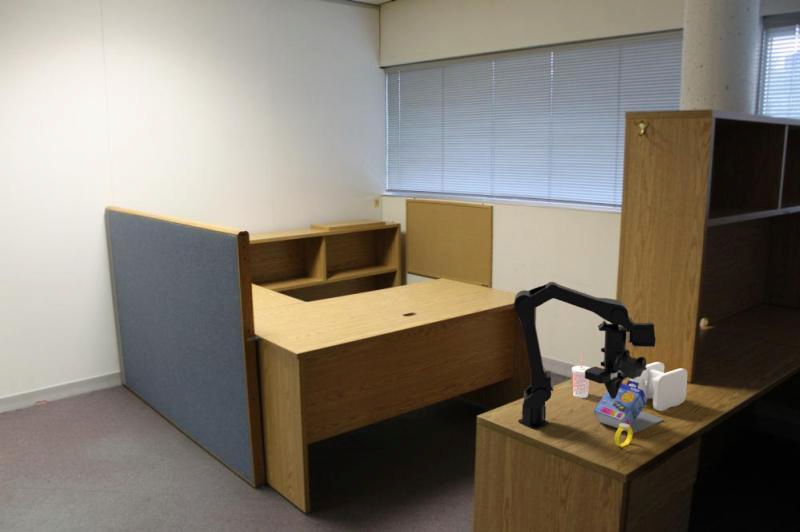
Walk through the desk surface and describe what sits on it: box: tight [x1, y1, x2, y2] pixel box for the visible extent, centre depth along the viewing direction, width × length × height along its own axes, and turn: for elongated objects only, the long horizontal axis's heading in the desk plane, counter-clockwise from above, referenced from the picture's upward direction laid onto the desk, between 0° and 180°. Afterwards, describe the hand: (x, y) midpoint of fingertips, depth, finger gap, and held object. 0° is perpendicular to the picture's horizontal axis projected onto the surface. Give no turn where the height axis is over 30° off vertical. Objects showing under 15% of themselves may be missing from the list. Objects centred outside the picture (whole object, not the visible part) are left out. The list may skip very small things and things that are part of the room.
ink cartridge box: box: [593, 379, 648, 433], centre depth 194 cm, size 10×6×14 cm
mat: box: [631, 410, 665, 434], centre depth 197 cm, size 15×12×1 cm
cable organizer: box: [629, 361, 688, 412], centre depth 208 cm, size 15×11×12 cm
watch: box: [614, 423, 634, 448], centre depth 181 cm, size 6×3×6 cm, turn 124°
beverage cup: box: [571, 353, 590, 399], centre depth 216 cm, size 6×6×14 cm
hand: (613, 398), depth 190 cm, fingers closed
